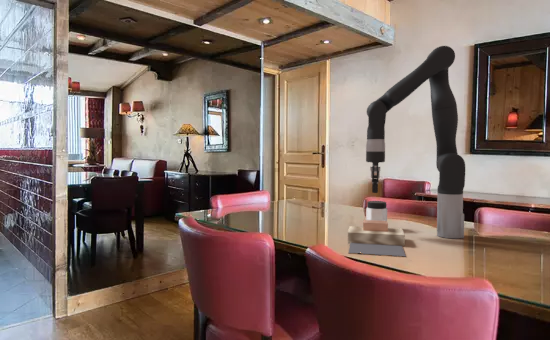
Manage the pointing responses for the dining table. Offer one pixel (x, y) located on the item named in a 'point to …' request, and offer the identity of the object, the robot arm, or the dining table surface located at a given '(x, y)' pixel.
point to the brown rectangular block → (375, 225)
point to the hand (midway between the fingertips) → (374, 192)
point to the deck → (376, 236)
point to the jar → (376, 210)
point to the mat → (377, 249)
